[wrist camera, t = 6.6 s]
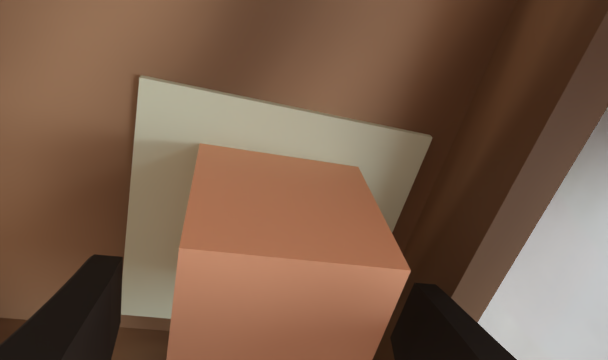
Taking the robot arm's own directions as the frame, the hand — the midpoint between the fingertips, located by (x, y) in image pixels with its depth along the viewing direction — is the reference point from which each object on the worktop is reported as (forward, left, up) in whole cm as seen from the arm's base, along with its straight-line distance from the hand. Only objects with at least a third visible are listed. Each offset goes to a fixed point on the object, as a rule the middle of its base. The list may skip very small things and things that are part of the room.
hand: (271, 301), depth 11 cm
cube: (0, 0, -3) cm, 3 cm away
